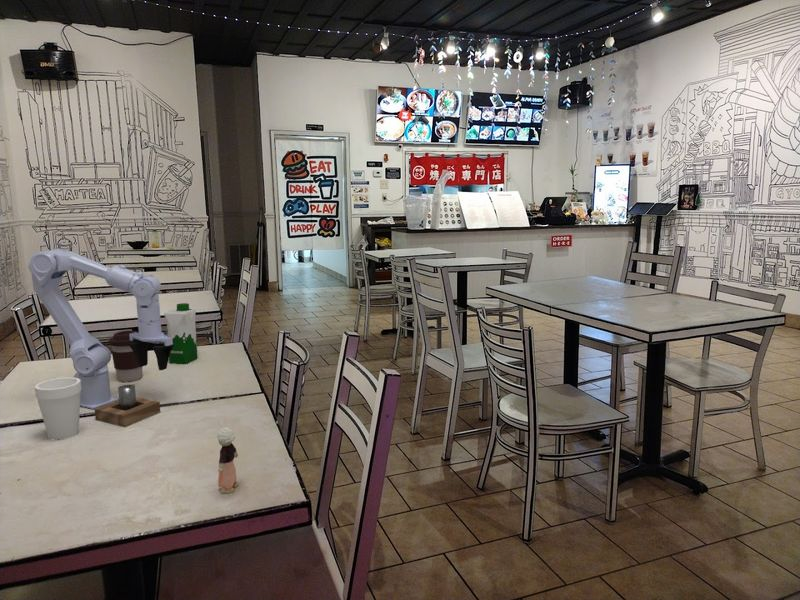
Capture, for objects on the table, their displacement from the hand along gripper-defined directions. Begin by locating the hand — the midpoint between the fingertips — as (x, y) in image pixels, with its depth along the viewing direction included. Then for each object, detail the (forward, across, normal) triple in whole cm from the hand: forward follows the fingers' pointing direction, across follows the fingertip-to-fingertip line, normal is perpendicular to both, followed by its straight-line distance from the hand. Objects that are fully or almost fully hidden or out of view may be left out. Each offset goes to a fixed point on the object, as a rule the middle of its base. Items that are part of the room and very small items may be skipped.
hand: (153, 367), depth 159 cm
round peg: (+10, -2, +11) cm, 15 cm away
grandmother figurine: (+10, -53, +29) cm, 61 cm away
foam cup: (+10, +2, +26) cm, 28 cm away
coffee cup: (+10, +24, -11) cm, 28 cm away
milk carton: (+10, +24, -33) cm, 42 cm away
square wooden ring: (+10, -2, +11) cm, 15 cm away
